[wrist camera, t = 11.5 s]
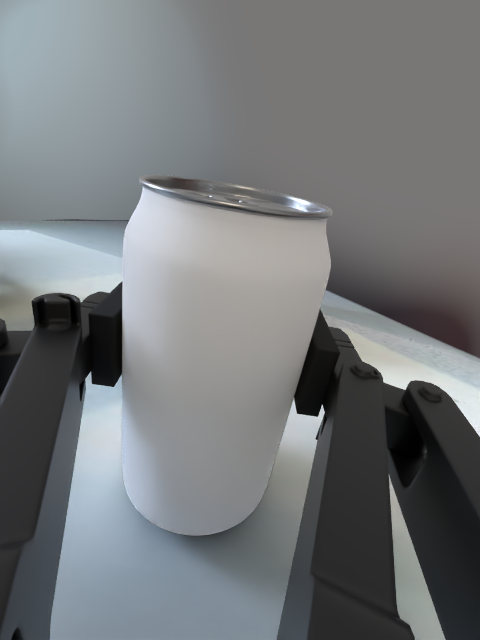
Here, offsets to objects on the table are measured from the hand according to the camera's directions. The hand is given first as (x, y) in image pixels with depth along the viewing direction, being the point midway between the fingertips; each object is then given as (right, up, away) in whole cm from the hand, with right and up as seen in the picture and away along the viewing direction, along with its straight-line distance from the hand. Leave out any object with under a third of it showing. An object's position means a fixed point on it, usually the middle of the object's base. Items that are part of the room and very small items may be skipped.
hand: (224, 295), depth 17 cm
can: (-1, -8, -2) cm, 8 cm away
